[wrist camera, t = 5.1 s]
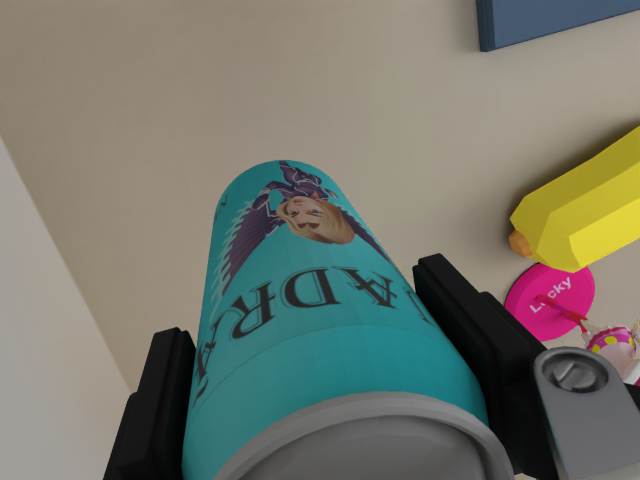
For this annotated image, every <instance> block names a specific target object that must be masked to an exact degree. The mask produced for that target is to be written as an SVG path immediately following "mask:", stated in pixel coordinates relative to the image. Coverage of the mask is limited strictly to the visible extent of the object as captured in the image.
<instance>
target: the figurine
mask: <svg viewBox="0 0 640 480" xmlns="http://www.w3.org/2000/svg"><path fill="white" fill-rule="evenodd" d="M594 293H595V284H594V279H593V276H592V274H591V272H590V270H589V269H588V267H587V266H586V267H584V268H582V269H580V270H578V271H576V272H575V273H571V272H567V271H563V270H559V269H555V268H552V267H549V266H547V265H545V264H542V263H539V264H537V265H535V266H534V267H532V268H530V269H529V270H528V271H527V272H525V273H524V274H523V275H522V276H521V277H520V278H519V279H518V280H517V282H516V283H515V284H514V286H513V287H512V289H511V291H510V292H509V295H508V297H507V300H506V303H505V308H506V309H507V310H508V311H509V312H510V313H511V314H512V315H513V316H514V317H515V318H516V319H517V320H518V321H519V322H520V323H521V324H522V325H523V326H524V327H525V328H526V329H527V330H528V331H529V332H530V333H531V334H532V335H533V336H535V337H536V338H537V339H538V340H539V341H540V342H543V341H549V340H552V339H555V338H558V337H560V336H562V335H564V334H566V333H567V332H569V331H570V330H572V329H573V328H574V327H576V326H577V325H579V326H580V327H581V330H582V335H581V336H582V338H583V339H584V341H585V349H587V350H590V351H592V352H595V353H597V354H599V355H601V356H602V357H604V358H605V359H607V360H608V361H609V362H610V363H611V364H612V365H613V366H614V367H615V369H616V370H617V372H618V374H619V375H620V376H621V379H622V381H623V382H624V383H628V384H632V385H637V386H640V359H632V358H633V357H634V356H635V352H636V344H635V342H634V340H633V337H634V338H635V339H636V340H637V341H638V343H639V346H640V322H639V320H637V328H635V324H633V329H632V330H631V329H629V328H628V327H626V326H625V325H612V326H610V325H607V326H605V327H604V328H599V327H597V326H595V325H593V324H592V323H591V322H590V321H589V320H588V319H587V318H586V317H585V316H586V314H587V312H588V311H589V309H590V307H591V304H592V302H593V298H594ZM632 333H633V337H632Z"/></svg>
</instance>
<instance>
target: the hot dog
mask: <svg viewBox="0 0 640 480" xmlns="http://www.w3.org/2000/svg"><path fill="white" fill-rule="evenodd" d="M510 220H511V222H512V224H513V225H514V227H515V230H514V231H513V233H512V234H511V235H510V236H509V242H510V245H511V249H512V250H513V251H514V252H516V253H517V254H519V255H520V256H523V257H525V256H526V257H529V258H531V259H533V260H536V261H538V262H540V263H542V264H545V265H547V266H549V267H552V268H555V269H559V270H563V271H567V272H571V273H575V272H576V271H578V270H580V269H582V268H584V267H586V266H588V265H590V264H592V263H593V262H595V261H597V260H599V259H601V258H603V257H605V256H607V255H608V254H610V253H612V252H614V251H616V250H618V249H620V248H622V247H624V246H625V245H627V244H629V243H631V242H633V241H635V240H637V239H639V238H640V126H638V127H637V128H635V129H634V130H632V131H631V132H629V133H628V134H627V135H625V136H624V137H622V138H621V139H619V140H618V141H616V142H615V143H613V144H612V145H611V146H609V147H608V148H606V149H605V150H603V151H602V152H600V153H599V154H597V155H596V156H594V157H593V158H592V159H590V160H588V161H586V162H585V163H583V164H581V165H579V166H578V167H576V168H574V169H572V170H570V171H569V172H567V173H565V174H563V175H562V176H560V177H558V178H556V179H555V180H553V181H551V182H549V183H548V184H546V185H544V186H542V187H541V188H539V189H537V190H535V191H534V192H532V193H530V194H528V195H526V196H525V197H524V198H523V200H522V201H521V203H520V204H519V206H518V207H517V208H516V210H515V211H514V213H513V214H512V216H511V217H510Z"/></svg>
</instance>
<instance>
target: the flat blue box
mask: <svg viewBox="0 0 640 480" xmlns="http://www.w3.org/2000/svg"><path fill="white" fill-rule="evenodd" d="M636 10H640V0H477V11H478V23H479V35H480V47H481V52H489V51H492V50H496V49H499V48H503V47H507V46H510V45H514V44H517V43H521V42H525V41H528V40H532V39H535V38H539V37H543V36H546V35H550V34H553V33H557V32H561V31H564V30H568V29H571V28H575V27H579V26H582V25H586V24H589V23H593V22H597V21H600V20H604V19H607V18H611V17H615V16H618V15H622V14H625V13H629V12H633V11H636Z"/></svg>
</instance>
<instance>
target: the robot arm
mask: <svg viewBox="0 0 640 480" xmlns="http://www.w3.org/2000/svg"><path fill="white" fill-rule="evenodd" d="M412 270H413V277H414V284H415V290H416V294H417V296H418V297H419V299H420V300H421V301H422V303H423V304H424V305H425V307H426V308H427V310H428V311H429V312H430V314H431V315H432V316H433V318H434V319H435V321H436V322H437V323H438V325H439V326H440V328H441V329H442V330H443V332H444V333H445V334H446V336H447V337H448V339H449V340H450V341H451V343H452V344H453V345H454V347H455V348H456V350H457V351H458V352H459V354H460V355H461V356H462V358H463V359H464V361H465V362H466V363H467V365H468V366H469V368H470V369H471V370H472V372H473V373H474V375H475V376H476V377H477V379H478V381H479V384H480V386H481V388H482V391H483V393H484V396H485V402H486V407H487V414H488V422H489V429H490V430H491V431H492V432H493V433H494V434H495V436H496V437H497V438H498V440H499V441H500V442H501V444H502V445H503V446H504V448H505V451H506V453H507V455H508V458H509V460H510V462H511V465H512V468H513V472H514V475H517V474H520V473H523V474H525V475H528V476H530V477H533V478H536V480H640V386H637V385H632V384H628V383H624V382H623V381H622V379H621V377H620V375H619V374H618V372H617V370H616V369H615V367H614V366H613V365H612V364H611V363H610V362H609V361H608V360H607V359H605V358H604V357H602V356H601V355H599V354H597V353H595V352H592V351H590V350H587V349H582V348H578V347H565V346H563V347H556V348H551V349H549V350H548V349H547V348H546V347H545V346H544V345H543V344H542V343H541V342H540V341H539V340H538V339H537V338H536V337H535V336H533V335H532V334H531V333H530V332H529V331H528V330H527V329H526V328H525V327H524V326H523V325H522V324H521V323H520V322H519V321H518V320H517V319H516V318H515V317H514V316H513V315H512V314H511V313H510V312H509V311H508V310H507V309H506V308H505V307H504V306H503V305H502V304H501V303H500V302H499V301H498V300H497V299H496V298H495V297H494V296H493V295H491V294H490V293H489V292H485V291H484V292H481V293H479V292H478V291H477V290H476V289H475V288H474V287H473V286H472V285H471V284H470V283H469V282H468V281H467V280H466V279H465V278H464V277H463V276H462V275H461V274H460V273H459V272H458V271H457V270H456V269H455V268H454V267H453V265H452V264H451V263H450V262H449V261H448V260H447V259H446V258H445V257H444V256H443V255H442V254H440V253H438V254H434V255H431V256H427V257H423V258H420V259H419V260H418V265H415V266H413V269H412ZM195 355H196V348H195V345H194V343H193V341H192V338H191V336H190V334H189V332H188V331H187V330H185V331H182V332H181V330H180V329H179V328H178V327H175V328H171V329H168V330H164V331H161V332H157V333H155V334H154V336H153V339H152V342H151V346H150V349H149V353H148V356H147V359H146V363H145V366H144V370H143V373H142V377H141V380H140V383H139V387H138V390H137V392H135V393H133V394H131V395H130V397H129V399H128V401H127V404H126V407H125V411H124V414H123V417H122V421H121V423H120V427H119V430H118V433H117V436H116V439H115V443H114V446H113V449H112V452H111V456H110V459H109V462H108V465H107V468H106V471H105V474H104V478H103V480H183V476H182V469H181V464H182V452H183V443H184V436H185V429H186V421H187V414H188V406H189V399H190V392H191V384H192V377H193V370H194V362H195Z"/></svg>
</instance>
